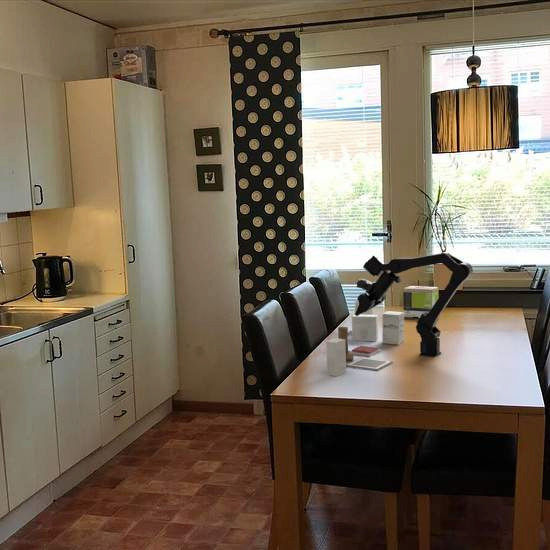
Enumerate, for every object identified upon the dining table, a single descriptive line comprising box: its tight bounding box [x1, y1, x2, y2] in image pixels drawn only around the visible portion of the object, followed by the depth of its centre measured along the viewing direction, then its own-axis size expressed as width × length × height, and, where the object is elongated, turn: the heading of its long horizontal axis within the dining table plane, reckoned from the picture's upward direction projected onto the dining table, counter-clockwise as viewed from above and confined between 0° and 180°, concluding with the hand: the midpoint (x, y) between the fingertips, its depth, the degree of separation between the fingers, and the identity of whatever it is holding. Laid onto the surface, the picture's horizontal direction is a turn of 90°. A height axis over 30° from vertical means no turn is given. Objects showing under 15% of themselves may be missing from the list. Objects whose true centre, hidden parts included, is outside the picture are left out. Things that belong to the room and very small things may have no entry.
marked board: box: [346, 357, 394, 372], centre depth 253 cm, size 13×13×1 cm
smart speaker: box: [354, 300, 375, 315], centre depth 311 cm, size 10×9×14 cm
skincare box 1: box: [325, 337, 347, 377], centre depth 241 cm, size 6×4×12 cm
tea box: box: [402, 285, 439, 319], centre depth 342 cm, size 15×10×15 cm, turn 58°
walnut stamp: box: [337, 326, 354, 363], centre depth 260 cm, size 6×6×12 cm
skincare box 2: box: [351, 313, 379, 342], centre depth 295 cm, size 10×6×10 cm, turn 74°
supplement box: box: [381, 310, 405, 346], centre depth 287 cm, size 7×7×13 cm
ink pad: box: [349, 345, 381, 358], centre depth 271 cm, size 9×9×2 cm
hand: (359, 313), depth 278 cm, fingers open, 9 cm apart
